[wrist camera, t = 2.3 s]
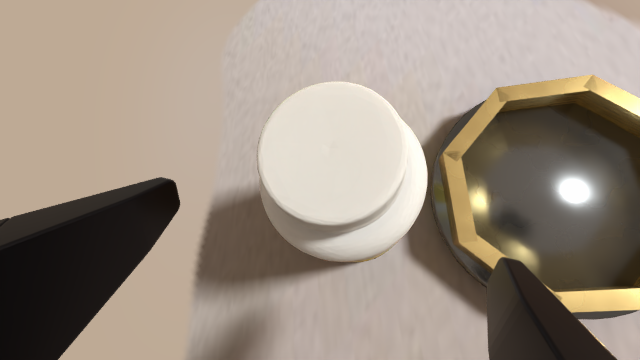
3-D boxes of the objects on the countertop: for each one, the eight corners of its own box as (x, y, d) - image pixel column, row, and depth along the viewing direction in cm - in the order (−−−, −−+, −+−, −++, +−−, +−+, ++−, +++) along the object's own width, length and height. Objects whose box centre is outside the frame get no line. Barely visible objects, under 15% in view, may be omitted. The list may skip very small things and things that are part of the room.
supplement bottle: (312, 161, 19) (247, 52, 9) (408, 168, 18) (448, 51, 8) (300, 256, 18) (206, 245, 8) (402, 269, 16) (441, 276, 7)
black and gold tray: (725, 310, 14) (788, 318, 12) (450, 320, 15) (462, 329, 13) (637, 80, 17) (674, 53, 15) (416, 109, 19) (421, 89, 17)
